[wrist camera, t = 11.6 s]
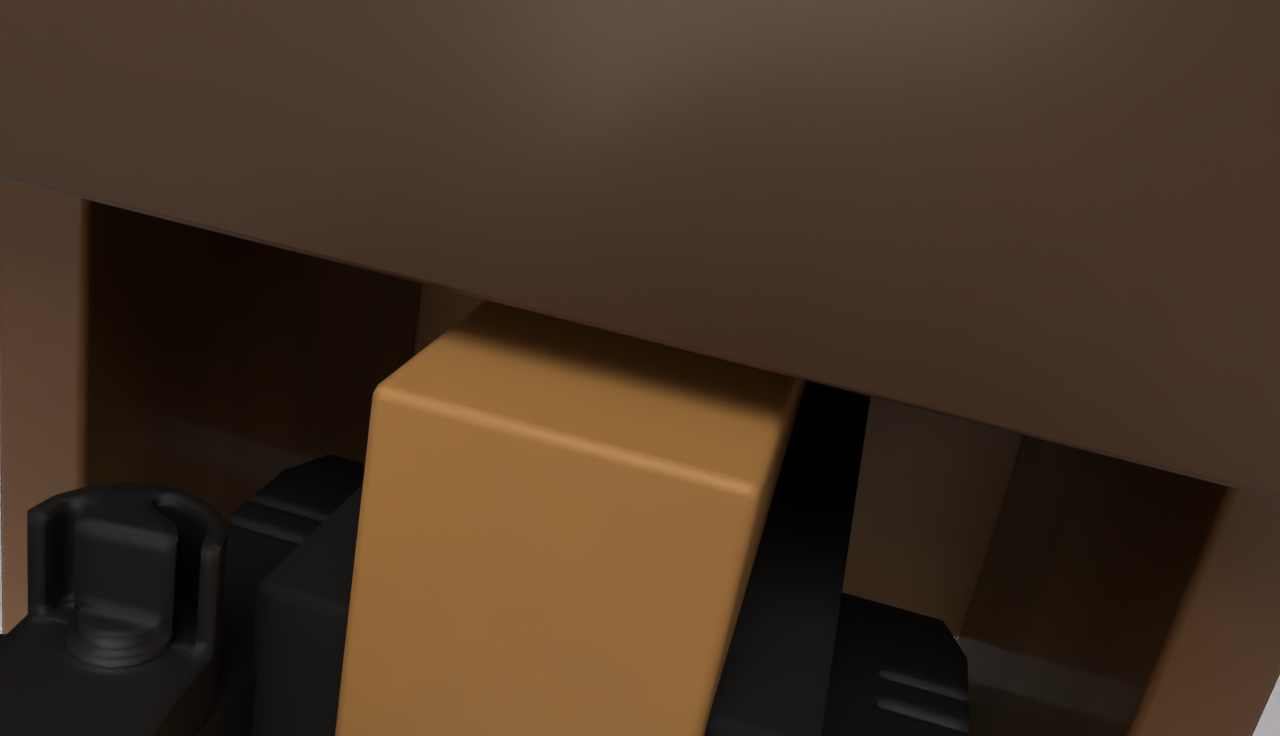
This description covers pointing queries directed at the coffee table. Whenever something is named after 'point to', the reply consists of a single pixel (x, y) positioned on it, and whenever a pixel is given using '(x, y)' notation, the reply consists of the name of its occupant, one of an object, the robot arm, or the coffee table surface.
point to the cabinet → (741, 182)
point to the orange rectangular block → (556, 532)
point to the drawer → (418, 314)
